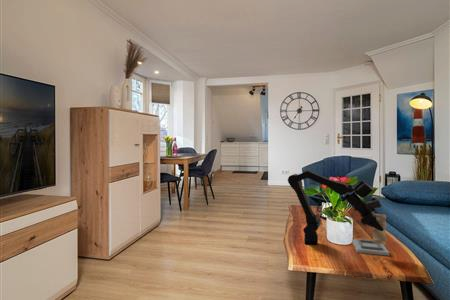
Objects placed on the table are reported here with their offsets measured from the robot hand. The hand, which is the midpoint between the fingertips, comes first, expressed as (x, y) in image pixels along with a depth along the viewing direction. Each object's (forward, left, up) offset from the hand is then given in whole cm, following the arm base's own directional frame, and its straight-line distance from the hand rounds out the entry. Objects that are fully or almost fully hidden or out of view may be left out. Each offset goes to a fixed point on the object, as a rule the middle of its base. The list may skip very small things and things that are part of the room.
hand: (382, 228), depth 119 cm
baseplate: (-3, +9, -13) cm, 17 cm away
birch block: (-1, 0, -7) cm, 7 cm away
